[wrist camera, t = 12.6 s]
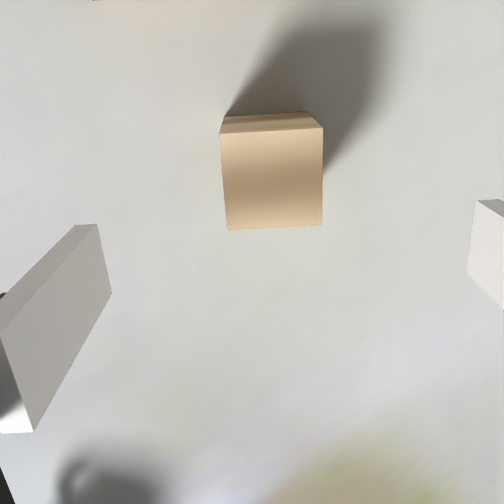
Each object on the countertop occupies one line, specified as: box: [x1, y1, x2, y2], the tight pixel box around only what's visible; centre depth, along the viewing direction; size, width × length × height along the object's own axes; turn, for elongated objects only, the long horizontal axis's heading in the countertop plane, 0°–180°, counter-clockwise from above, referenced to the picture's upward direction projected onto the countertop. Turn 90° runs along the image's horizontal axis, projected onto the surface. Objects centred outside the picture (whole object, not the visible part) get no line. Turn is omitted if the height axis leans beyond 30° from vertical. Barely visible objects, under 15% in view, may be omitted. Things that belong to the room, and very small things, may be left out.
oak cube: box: [219, 112, 323, 230], centre depth 25 cm, size 5×5×6 cm
